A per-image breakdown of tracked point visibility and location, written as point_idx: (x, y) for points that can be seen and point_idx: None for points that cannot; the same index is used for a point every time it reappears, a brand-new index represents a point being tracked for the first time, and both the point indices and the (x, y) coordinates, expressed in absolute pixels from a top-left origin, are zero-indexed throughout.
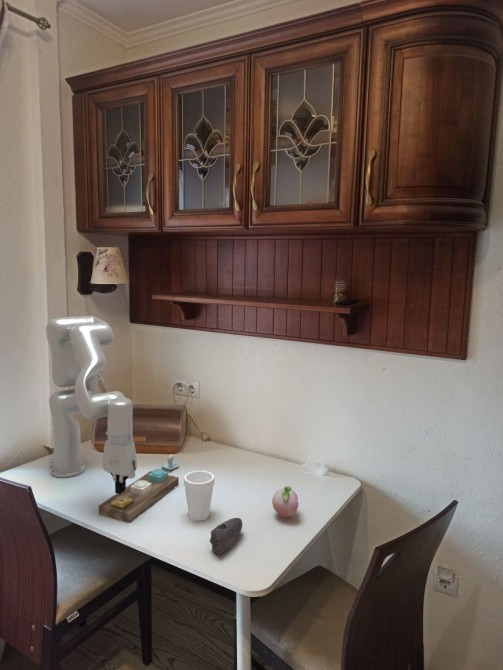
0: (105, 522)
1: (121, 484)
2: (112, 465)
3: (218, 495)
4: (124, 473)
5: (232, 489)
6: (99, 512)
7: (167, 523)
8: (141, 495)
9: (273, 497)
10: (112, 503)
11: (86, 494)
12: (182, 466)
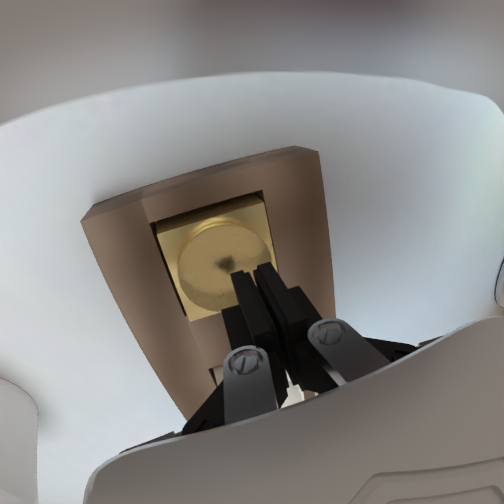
0: (199, 118)
1: (244, 340)
2: (445, 488)
3: (92, 472)
4: (126, 490)
5: None
6: (295, 148)
7: (3, 317)
8: (220, 366)
9: None
10: (247, 206)
11: (441, 221)
12: None
